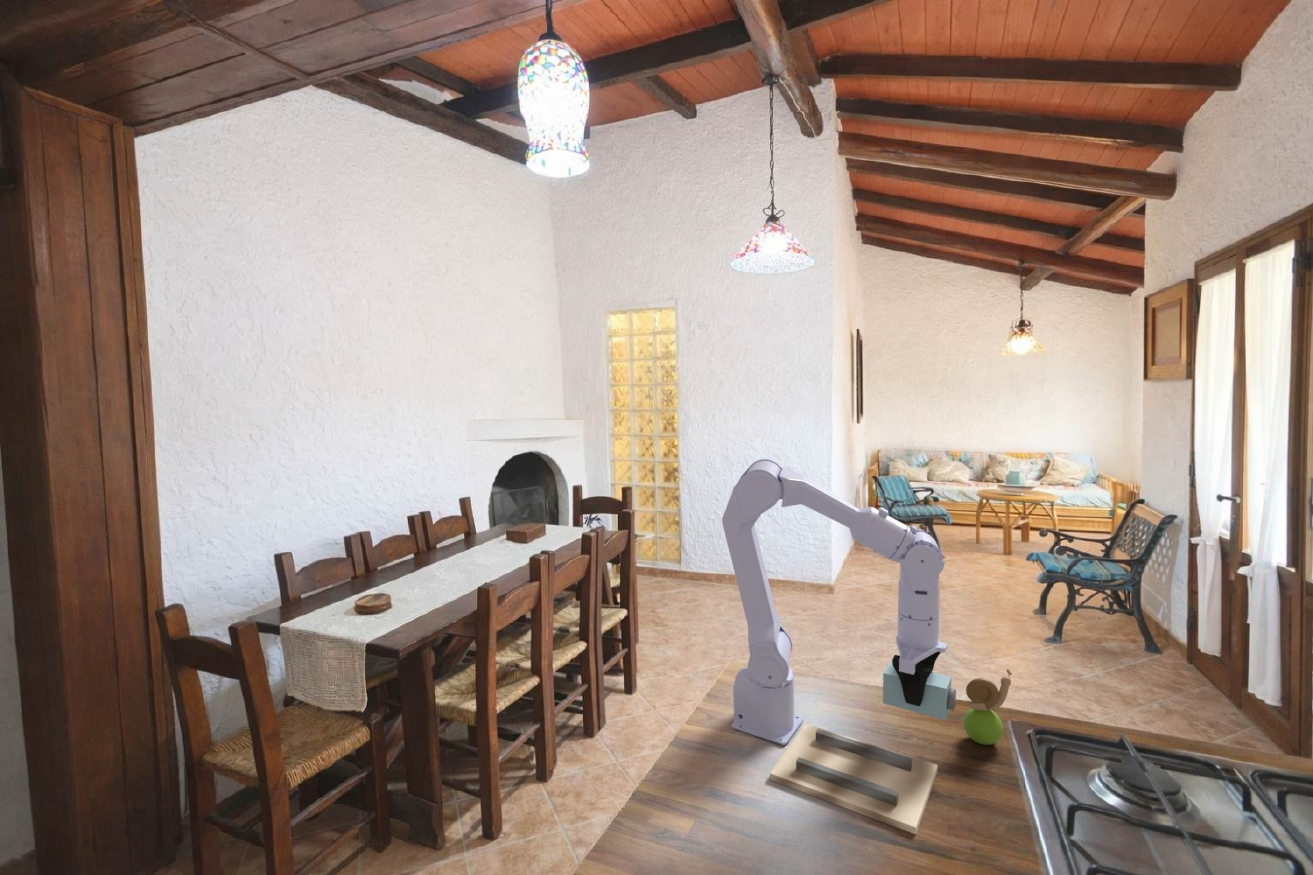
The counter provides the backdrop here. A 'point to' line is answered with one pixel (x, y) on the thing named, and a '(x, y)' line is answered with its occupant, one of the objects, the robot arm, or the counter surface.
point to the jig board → (858, 776)
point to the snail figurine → (985, 709)
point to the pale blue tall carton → (934, 700)
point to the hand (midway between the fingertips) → (916, 696)
